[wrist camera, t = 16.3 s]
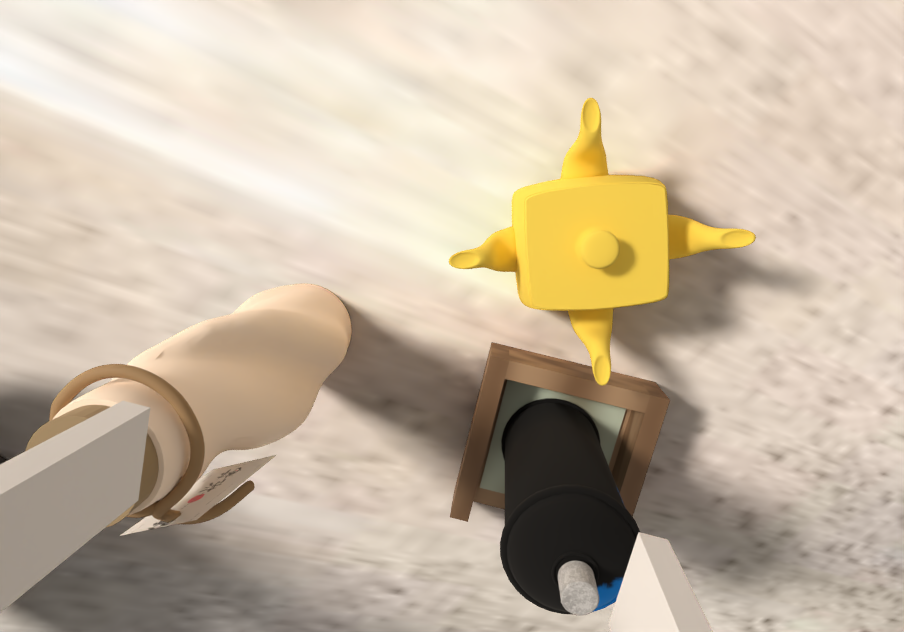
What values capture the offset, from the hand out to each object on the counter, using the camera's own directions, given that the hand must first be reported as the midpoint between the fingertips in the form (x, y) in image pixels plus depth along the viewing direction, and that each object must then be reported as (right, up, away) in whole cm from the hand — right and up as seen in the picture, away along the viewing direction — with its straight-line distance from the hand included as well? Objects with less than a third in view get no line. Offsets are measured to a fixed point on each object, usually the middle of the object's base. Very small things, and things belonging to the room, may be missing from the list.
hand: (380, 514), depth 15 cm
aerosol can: (+10, -6, +35) cm, 37 cm away
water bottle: (-10, +4, +36) cm, 37 cm away
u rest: (+10, -5, +36) cm, 37 cm away
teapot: (+12, +11, +32) cm, 37 cm away
